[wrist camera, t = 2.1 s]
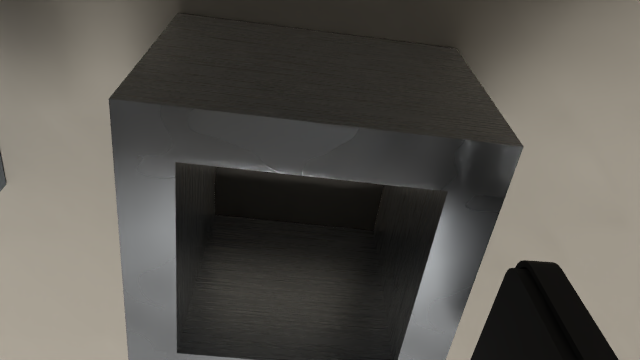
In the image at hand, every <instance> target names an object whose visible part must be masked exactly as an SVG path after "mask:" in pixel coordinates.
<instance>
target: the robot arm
mask: <svg viewBox="0 0 640 360" xmlns="http://www.w3.org/2000/svg"><path fill="white" fill-rule="evenodd" d="M471 360H618V358H617V356H616V355H615V353H614V352H613V350H612V349H611V347H610V345H609V344H608V342H607V341H606V339H605V337H604V336H603V334H602V333H601V331H600V329H599V328H598V326H597V325H596V323H595V321H594V320H593V318H592V317H591V315H590V314H589V312H588V310H587V309H586V307H585V306H584V304H583V302H582V301H581V299H580V298H579V296H578V294H577V293H576V291H575V290H574V288H573V286H572V285H571V283H570V282H569V280H568V279H567V277H566V275H565V274H564V272H563V271H562V269H561V268H560V267H559V265H558V264H556V263H553V262H539V261H525V260H524V261H520V262H519V263H518V264H517V266H516V267H515V268H510V269H509V270H508V271H507V272H506V274H505V276H504V279H503V281H502V284H501V286H500V289H499V291H498V294H497V296H496V299H495V301H494V303H493V306H492V308H491V311H490V313H489V316H488V318H487V321H486V323H485V326H484V328H483V330H482V333H481V335H480V338H479V340H478V343H477V345H476V348H475V350H474V353H473V355H472V358H471Z"/></svg>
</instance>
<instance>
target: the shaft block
mask: <svg viewBox="0 0 640 360" xmlns="http://www.w3.org/2000/svg"><path fill="white" fill-rule="evenodd" d="M5 185H6V181H5V176H4V171H3V166H2V161H1V156H0V191H1V190H2V189H3V188H4V187H5Z"/></svg>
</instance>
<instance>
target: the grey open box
mask: <svg viewBox="0 0 640 360" xmlns="http://www.w3.org/2000/svg"><path fill="white" fill-rule="evenodd" d="M109 107H110V120H111V134H112V147H113V160H114V173H115V187H116V200H117V213H118V226H119V240H120V253H121V266H122V279H123V293H124V306H125V319H126V332H127V346H128V359H129V360H446V357H447V354H448V352H449V349H450V346H451V344H452V341H453V338H454V335H455V333H456V330H457V327H458V324H459V322H460V319H461V316H462V313H463V311H464V308H465V305H466V302H467V300H468V297H469V294H470V291H471V289H472V286H473V283H474V281H475V278H476V275H477V272H478V270H479V267H480V264H481V261H482V259H483V256H484V253H485V250H486V248H487V245H488V242H489V239H490V237H491V234H492V231H493V229H494V226H495V223H496V220H497V218H498V215H499V212H500V209H501V207H502V204H503V201H504V198H505V196H506V193H507V190H508V187H509V185H510V182H511V179H512V176H513V174H514V171H515V168H516V166H517V163H518V160H519V157H520V155H521V152H522V149H523V145H522V144H521V142H520V141H519V139H518V138H517V136H516V135H515V133H514V132H513V130H512V129H511V128H510V126H509V125H508V123H507V122H506V120H505V119H504V117H503V116H502V114H501V113H500V112H499V110H498V109H497V107H496V106H495V104H494V103H493V101H492V100H491V98H490V97H489V95H488V94H487V93H486V91H485V90H484V88H483V87H482V85H481V84H480V82H479V81H478V79H477V78H476V76H475V75H474V74H473V72H472V71H471V69H470V68H469V66H468V65H467V63H466V62H465V60H464V59H463V58H462V56H461V55H460V53H459V52H458V50H457V49H456V48H449V47H441V46H433V45H425V44H417V43H410V42H402V41H394V40H386V39H378V38H370V37H362V36H355V35H347V34H339V33H331V32H323V31H315V30H308V29H300V28H292V27H284V26H276V25H268V24H260V23H253V22H245V21H237V20H229V19H221V18H213V17H206V16H198V15H190V14H182V13H178V14H177V15H176V17H175V18H174V19H173V20H172V21H171V23H170V24H169V25H168V26H167V28H166V29H165V30H164V31H163V33H162V34H161V35H160V36H159V37H158V39H157V40H156V41H155V42H154V44H153V45H152V46H151V47H150V49H149V50H148V51H147V52H146V54H145V55H144V56H143V57H142V58H141V60H140V61H139V62H138V63H137V65H136V66H135V67H134V68H133V70H132V71H131V72H130V73H129V74H128V76H127V77H126V78H125V79H124V81H123V82H122V83H121V84H120V86H119V87H118V88H117V89H116V91H115V92H114V93H113V94H112V95H111V97H110V98H109ZM216 166H217V167H226V168H235V169H244V170H254V171H263V172H272V173H282V174H291V175H300V176H309V177H319V178H328V179H337V180H346V181H356V182H365V183H374V184H384V186H383V190H382V195H381V199H380V204H379V208H378V212H377V217H376V221H375V226H374V230H373V231H372V230H362V229H352V228H342V227H332V226H322V225H313V224H303V223H293V222H283V221H273V220H263V219H254V218H244V217H234V216H224V215H215V190H216Z"/></svg>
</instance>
